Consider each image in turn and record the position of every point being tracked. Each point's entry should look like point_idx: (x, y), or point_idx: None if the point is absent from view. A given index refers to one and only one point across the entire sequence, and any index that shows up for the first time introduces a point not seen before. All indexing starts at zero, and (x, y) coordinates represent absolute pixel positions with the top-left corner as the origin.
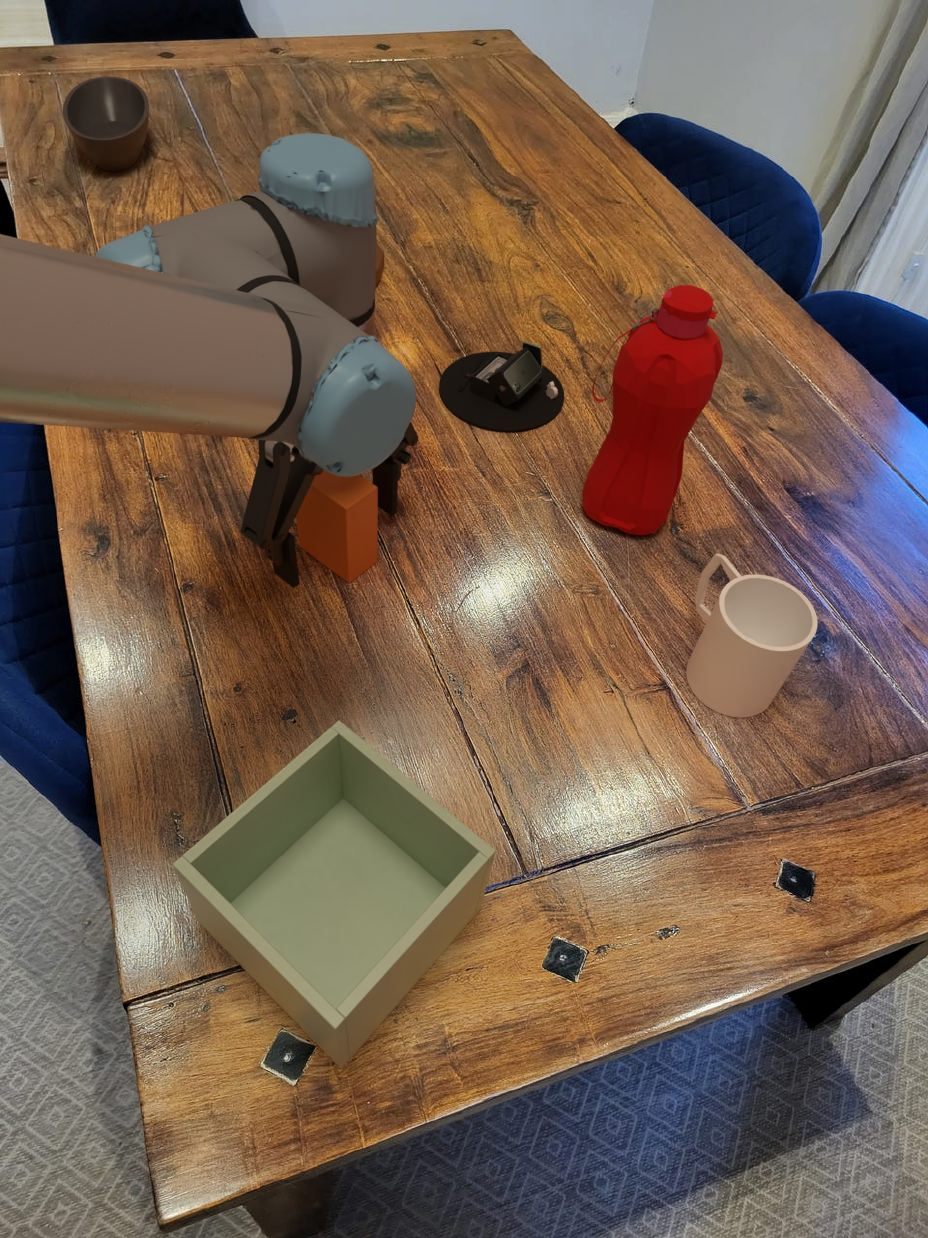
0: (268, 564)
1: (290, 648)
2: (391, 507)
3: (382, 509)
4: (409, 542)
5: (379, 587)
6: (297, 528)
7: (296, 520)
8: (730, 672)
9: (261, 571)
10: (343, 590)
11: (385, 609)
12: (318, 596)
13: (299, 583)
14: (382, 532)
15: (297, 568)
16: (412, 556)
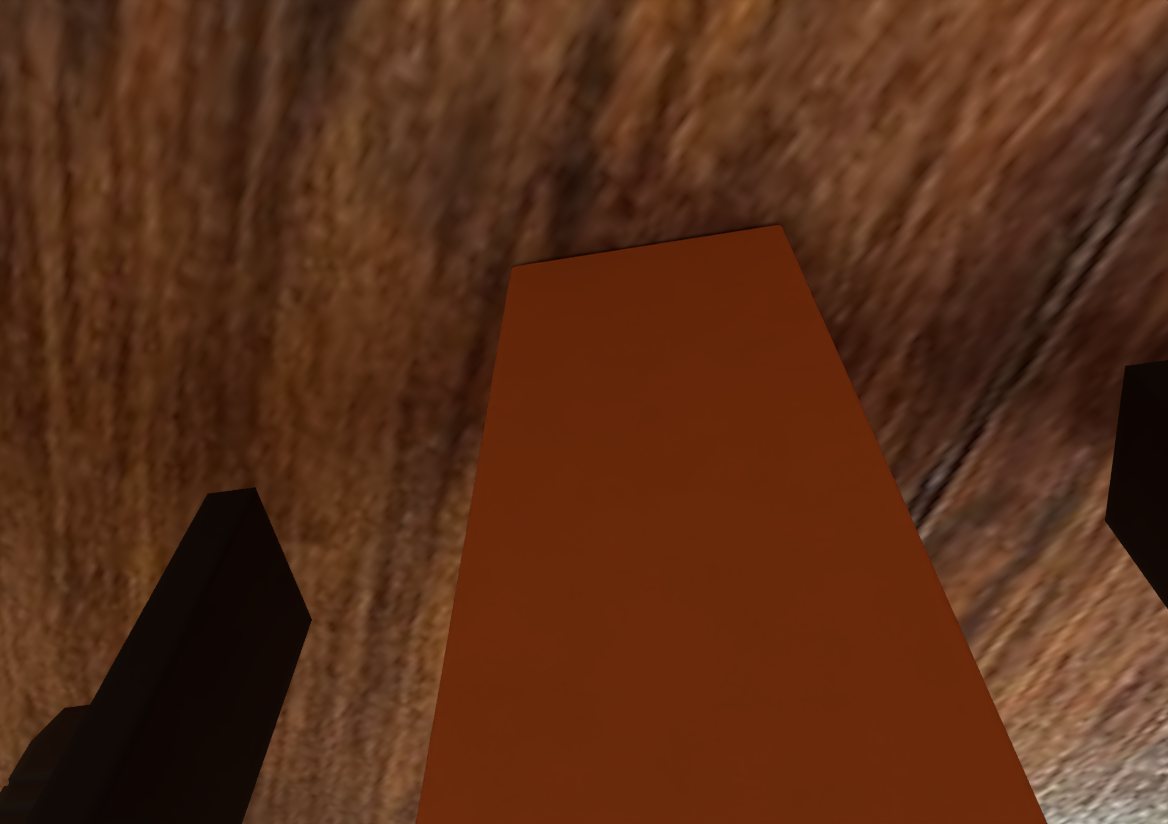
0: (267, 282)
1: None
2: (1143, 570)
3: (1115, 454)
4: (1039, 572)
5: None
6: (498, 348)
7: (491, 387)
8: None
9: (204, 305)
10: None
11: None
12: (413, 593)
13: (309, 623)
14: (995, 447)
15: (270, 729)
16: (969, 641)
